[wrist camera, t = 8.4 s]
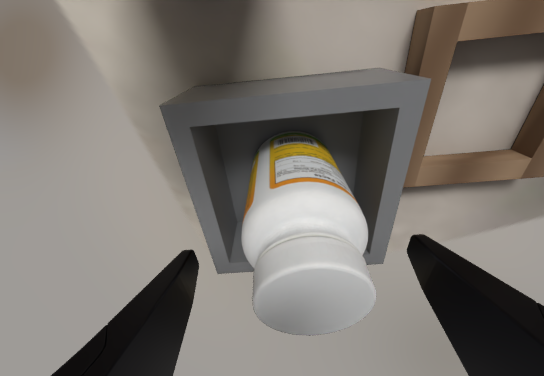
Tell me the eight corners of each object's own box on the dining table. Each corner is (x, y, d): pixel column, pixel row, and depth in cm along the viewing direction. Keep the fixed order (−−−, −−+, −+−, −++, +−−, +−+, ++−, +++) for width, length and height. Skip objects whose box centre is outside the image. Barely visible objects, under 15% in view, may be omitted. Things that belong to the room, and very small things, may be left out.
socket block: (624, -14, 11) (669, -21, 10) (522, 166, 16) (543, 176, 15) (417, 10, 12) (434, 6, 10) (383, 177, 17) (392, 188, 16)
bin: (379, 67, 13) (431, 78, 9) (358, 214, 19) (383, 263, 15) (194, 86, 14) (159, 105, 9) (229, 224, 19) (217, 273, 15)
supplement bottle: (286, 211, 17) (299, 358, 9) (235, 164, 15) (193, 303, 7) (346, 170, 16) (430, 311, 7) (298, 110, 13) (340, 214, 5)
